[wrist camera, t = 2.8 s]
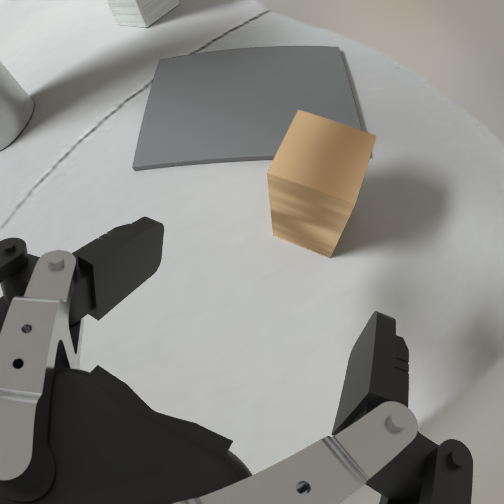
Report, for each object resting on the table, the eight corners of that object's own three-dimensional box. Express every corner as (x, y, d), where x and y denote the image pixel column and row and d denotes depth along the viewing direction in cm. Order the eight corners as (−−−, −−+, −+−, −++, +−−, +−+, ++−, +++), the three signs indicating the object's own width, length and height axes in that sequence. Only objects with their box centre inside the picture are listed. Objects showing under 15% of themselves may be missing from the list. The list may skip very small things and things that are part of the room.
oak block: (273, 235, 24) (266, 172, 16) (295, 185, 25) (298, 109, 17) (330, 257, 23) (355, 204, 15) (348, 205, 24) (376, 135, 16)
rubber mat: (134, 170, 27) (132, 167, 26) (160, 63, 31) (159, 59, 31) (365, 158, 25) (366, 155, 25) (338, 50, 30) (338, 46, 29)
